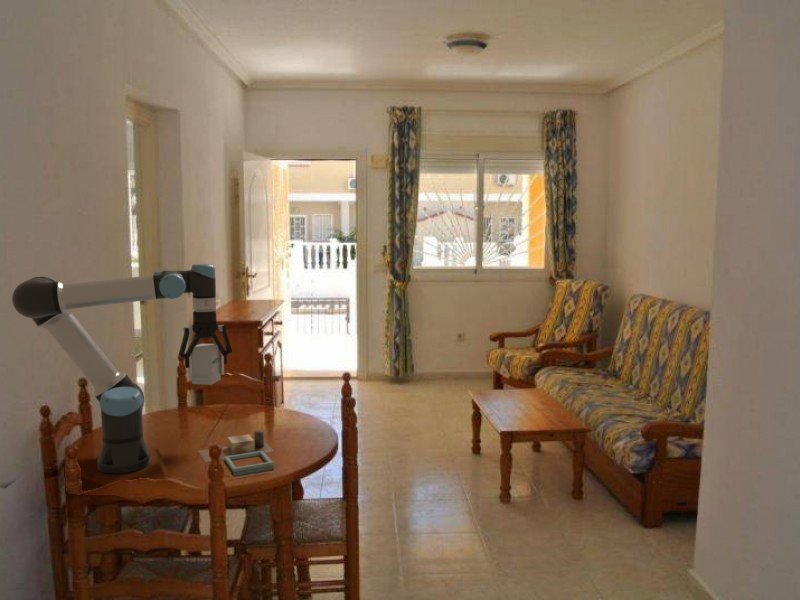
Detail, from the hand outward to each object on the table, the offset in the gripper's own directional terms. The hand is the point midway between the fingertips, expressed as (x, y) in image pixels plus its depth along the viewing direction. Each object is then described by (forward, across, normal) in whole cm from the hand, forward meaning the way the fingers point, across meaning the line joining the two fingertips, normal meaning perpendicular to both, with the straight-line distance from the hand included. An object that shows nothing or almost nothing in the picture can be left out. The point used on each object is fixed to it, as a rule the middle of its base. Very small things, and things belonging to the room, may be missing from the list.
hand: (206, 375), depth 226 cm
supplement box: (+2, 0, 0) cm, 2 cm away
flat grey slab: (+23, +5, -17) cm, 29 cm away
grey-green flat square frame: (+23, +5, -30) cm, 38 cm away
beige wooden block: (+22, +7, -16) cm, 28 cm away
